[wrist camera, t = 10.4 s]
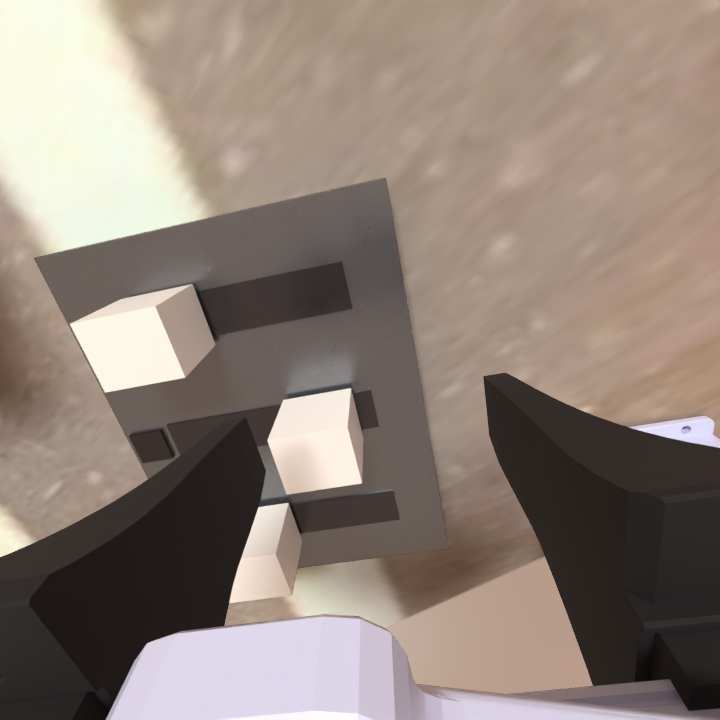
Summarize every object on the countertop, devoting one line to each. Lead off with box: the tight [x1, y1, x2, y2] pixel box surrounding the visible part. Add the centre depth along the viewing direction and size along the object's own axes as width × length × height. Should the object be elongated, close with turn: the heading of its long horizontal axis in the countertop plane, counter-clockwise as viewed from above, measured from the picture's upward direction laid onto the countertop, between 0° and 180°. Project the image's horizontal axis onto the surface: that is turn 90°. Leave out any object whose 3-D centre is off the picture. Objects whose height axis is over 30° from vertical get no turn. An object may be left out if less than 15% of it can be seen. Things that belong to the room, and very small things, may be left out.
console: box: [34, 178, 448, 568], centre depth 23 cm, size 16×21×2 cm
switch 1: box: [70, 284, 215, 393], centre depth 18 cm, size 4×3×4 cm
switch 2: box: [229, 503, 302, 603], centre depth 23 cm, size 4×3×4 cm
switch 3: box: [267, 388, 363, 495], centre depth 20 cm, size 4×3×4 cm
